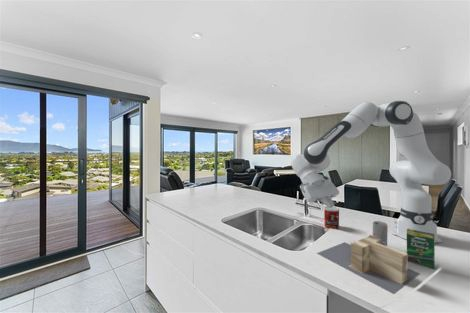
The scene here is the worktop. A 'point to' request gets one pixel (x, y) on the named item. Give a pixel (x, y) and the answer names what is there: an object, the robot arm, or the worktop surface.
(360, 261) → the t block
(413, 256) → the coffee box
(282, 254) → the worktop surface
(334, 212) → the canned food
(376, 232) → the energy drink
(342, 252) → the mat
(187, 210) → the worktop surface
